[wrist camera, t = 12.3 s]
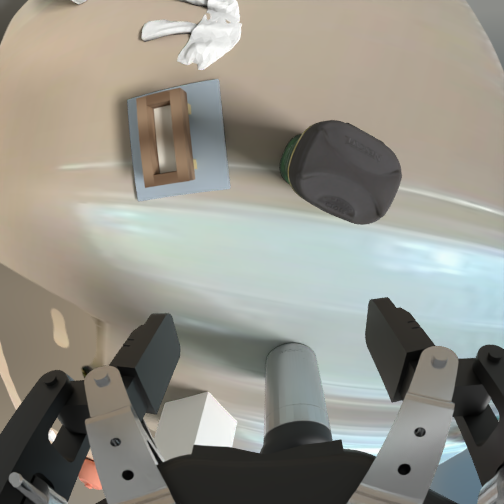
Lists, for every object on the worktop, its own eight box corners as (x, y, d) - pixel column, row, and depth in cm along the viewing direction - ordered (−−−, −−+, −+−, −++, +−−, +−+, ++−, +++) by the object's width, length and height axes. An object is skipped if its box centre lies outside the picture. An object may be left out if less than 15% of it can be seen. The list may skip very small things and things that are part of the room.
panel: (230, 188, 39) (227, 190, 36) (140, 200, 40) (131, 203, 37) (219, 80, 34) (215, 74, 31) (129, 100, 35) (119, 97, 32)
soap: (40, 422, 69) (37, 427, 66) (53, 429, 69) (50, 434, 66) (48, 434, 71) (45, 438, 69) (60, 441, 71) (57, 445, 69)
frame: (195, 179, 36) (189, 181, 33) (153, 185, 36) (144, 188, 33) (186, 92, 32) (180, 87, 29) (145, 102, 32) (136, 98, 29)
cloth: (213, 86, 35) (209, 82, 33) (105, 47, 32) (98, 43, 30) (281, -7, 29) (282, -14, 27) (170, -36, 26) (167, -43, 24)
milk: (194, 430, 57) (172, 520, 32) (164, 402, 54) (129, 498, 29) (237, 421, 54) (224, 522, 30) (208, 391, 51) (181, 502, 27)
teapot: (80, 463, 77) (70, 482, 65) (68, 447, 72) (57, 468, 60) (123, 481, 76) (115, 502, 65) (114, 467, 72) (104, 490, 60)
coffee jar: (271, 178, 38) (276, 194, 21) (293, 127, 36) (316, 99, 18) (334, 206, 39) (383, 243, 21) (355, 157, 36) (421, 158, 19)
